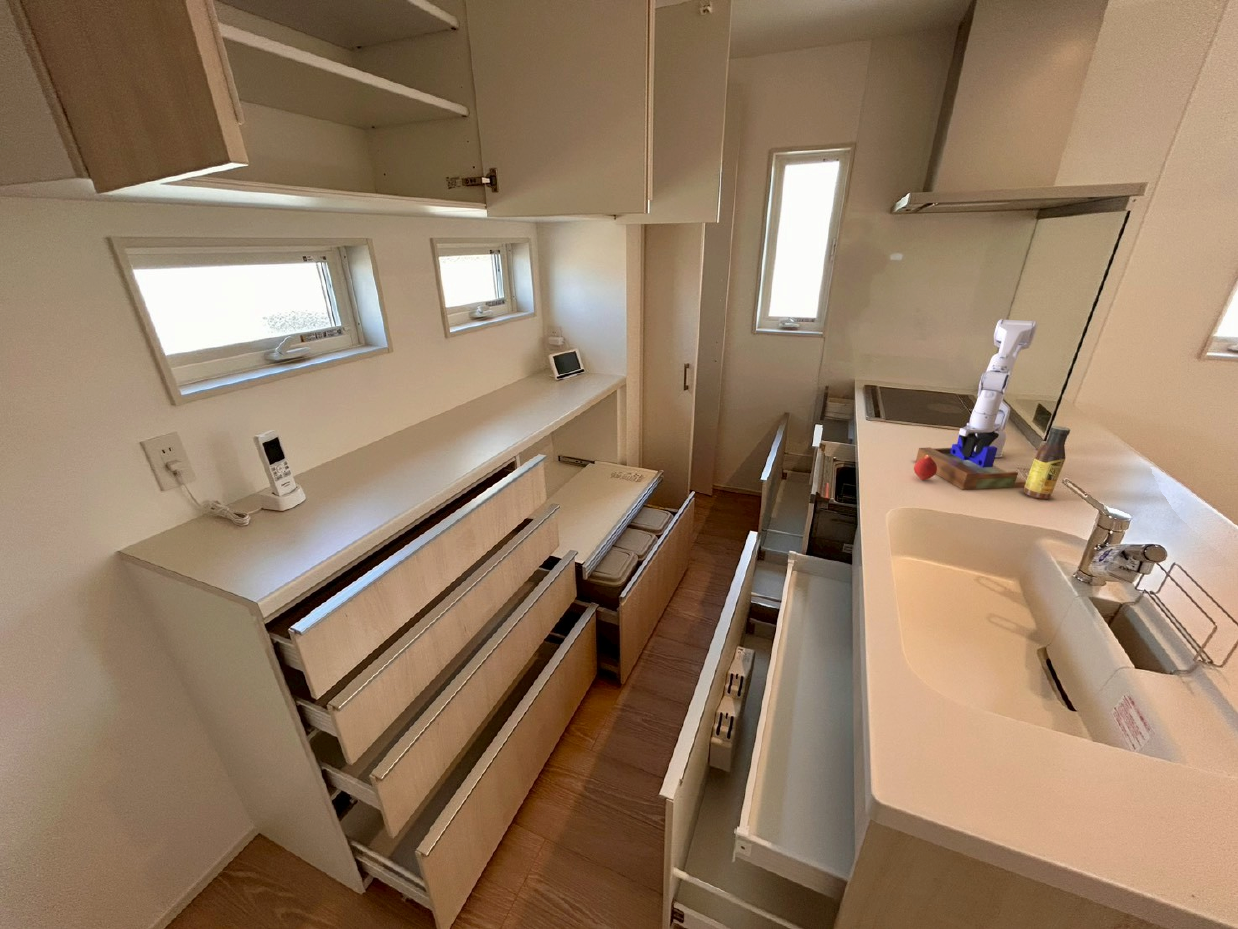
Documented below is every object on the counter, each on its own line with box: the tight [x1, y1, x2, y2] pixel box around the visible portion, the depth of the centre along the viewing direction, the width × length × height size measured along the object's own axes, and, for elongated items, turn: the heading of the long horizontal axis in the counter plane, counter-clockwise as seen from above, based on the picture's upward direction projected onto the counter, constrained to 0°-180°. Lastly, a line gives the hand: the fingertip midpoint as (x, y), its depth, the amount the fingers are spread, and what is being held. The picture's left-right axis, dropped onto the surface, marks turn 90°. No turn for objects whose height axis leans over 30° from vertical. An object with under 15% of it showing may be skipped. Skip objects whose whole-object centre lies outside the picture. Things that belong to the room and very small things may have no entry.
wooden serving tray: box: [915, 447, 1026, 490], centre depth 153 cm, size 20×21×5 cm
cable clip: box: [950, 435, 997, 468], centre depth 151 cm, size 12×4×6 cm, turn 3°
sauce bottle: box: [1023, 425, 1071, 500], centre depth 136 cm, size 7×6×20 cm
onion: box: [913, 455, 937, 481], centre depth 148 cm, size 6×6×8 cm
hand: (973, 455), depth 151 cm, fingers closed on cable clip, 5 cm apart
